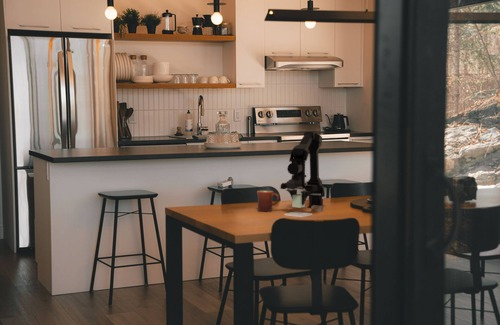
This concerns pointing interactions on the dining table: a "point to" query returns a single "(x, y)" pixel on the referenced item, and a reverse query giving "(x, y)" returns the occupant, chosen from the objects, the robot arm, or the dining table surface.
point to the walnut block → (316, 208)
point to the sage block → (297, 201)
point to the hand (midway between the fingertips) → (298, 204)
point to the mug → (266, 200)
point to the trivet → (298, 214)
